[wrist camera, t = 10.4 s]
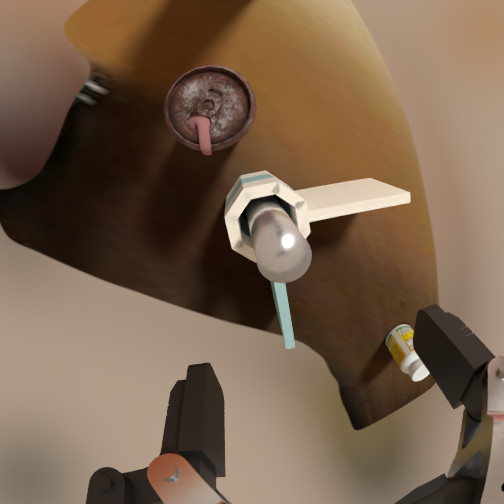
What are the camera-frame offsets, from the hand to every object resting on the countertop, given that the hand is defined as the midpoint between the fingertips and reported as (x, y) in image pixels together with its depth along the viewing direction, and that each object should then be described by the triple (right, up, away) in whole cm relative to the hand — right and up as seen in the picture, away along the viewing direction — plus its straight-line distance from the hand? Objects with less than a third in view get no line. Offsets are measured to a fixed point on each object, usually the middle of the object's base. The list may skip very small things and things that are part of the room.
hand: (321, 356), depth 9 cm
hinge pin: (-2, +9, +23) cm, 25 cm away
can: (-6, +18, +19) cm, 27 cm away
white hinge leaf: (+3, +11, +23) cm, 25 cm away
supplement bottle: (+23, -11, +33) cm, 42 cm away
